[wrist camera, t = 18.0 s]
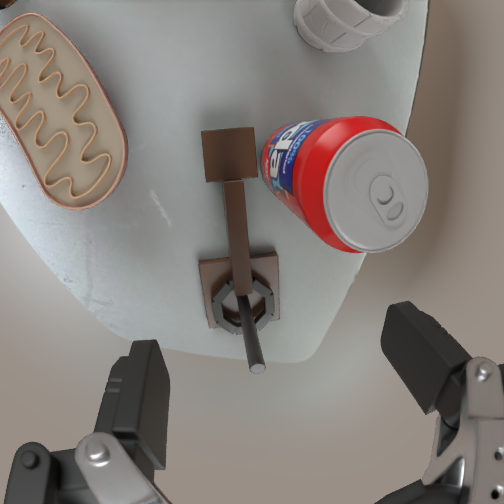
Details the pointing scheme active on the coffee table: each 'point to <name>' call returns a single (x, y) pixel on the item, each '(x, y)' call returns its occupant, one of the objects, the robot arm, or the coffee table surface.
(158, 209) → the coffee table surface
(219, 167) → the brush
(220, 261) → the peg stand
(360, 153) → the soda can
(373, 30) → the mug
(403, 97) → the coffee table surface
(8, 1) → the sunglasses case
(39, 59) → the mitochondrion model
